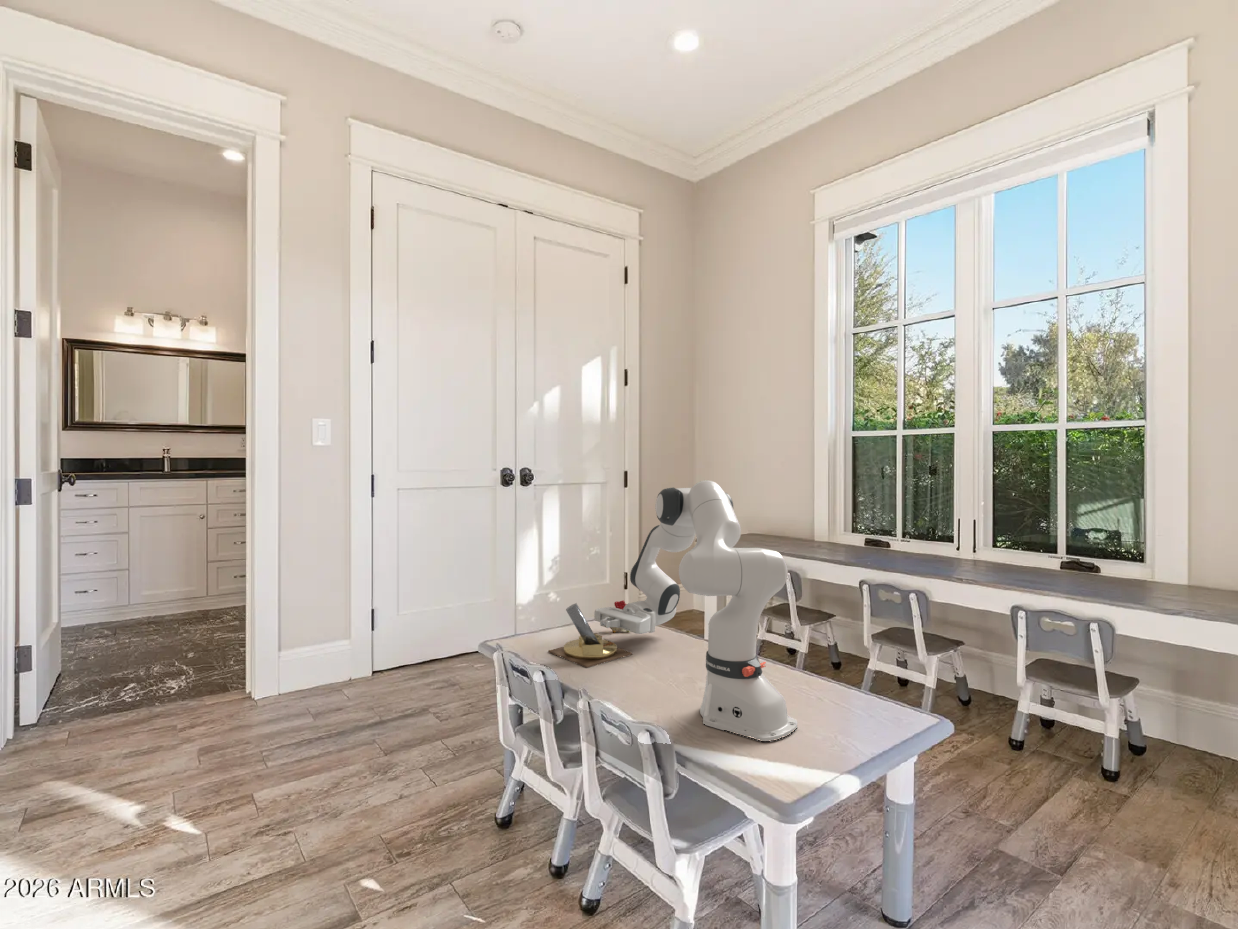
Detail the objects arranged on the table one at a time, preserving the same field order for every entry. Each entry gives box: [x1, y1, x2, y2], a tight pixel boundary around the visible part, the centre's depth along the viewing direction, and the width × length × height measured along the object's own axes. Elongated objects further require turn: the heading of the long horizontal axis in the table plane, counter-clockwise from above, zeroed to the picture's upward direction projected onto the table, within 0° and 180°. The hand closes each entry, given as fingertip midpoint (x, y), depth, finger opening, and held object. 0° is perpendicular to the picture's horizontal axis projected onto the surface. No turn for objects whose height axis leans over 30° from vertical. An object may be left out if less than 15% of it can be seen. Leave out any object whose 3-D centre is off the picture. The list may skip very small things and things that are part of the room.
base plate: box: [547, 646, 633, 669], centre depth 189 cm, size 18×18×1 cm
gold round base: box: [563, 632, 618, 660], centre depth 189 cm, size 17×16×4 cm
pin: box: [565, 602, 599, 645], centre depth 183 cm, size 4×4×14 cm
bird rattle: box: [609, 600, 630, 633], centre depth 213 cm, size 6×11×9 cm
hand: (603, 624), depth 190 cm, fingers closed
